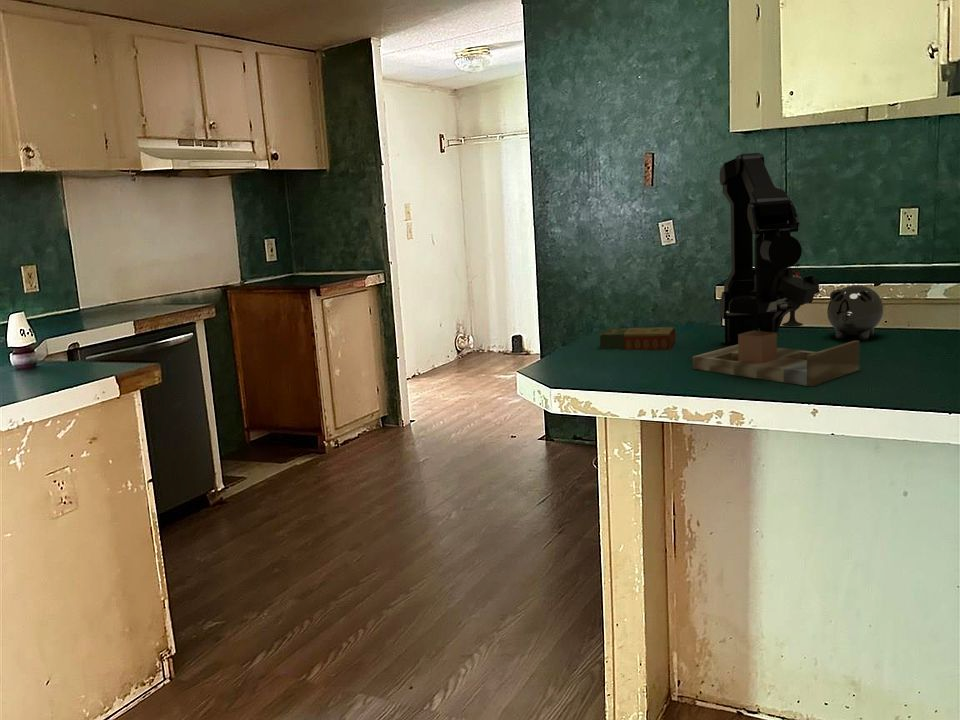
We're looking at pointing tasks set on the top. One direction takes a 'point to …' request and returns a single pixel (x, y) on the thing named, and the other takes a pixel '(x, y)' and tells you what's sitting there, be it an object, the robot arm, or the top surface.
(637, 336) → the carton
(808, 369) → the brown wooden compartment tray
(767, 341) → the block
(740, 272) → the robot arm
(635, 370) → the top surface
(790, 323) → the sundae
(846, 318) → the piggy bank
